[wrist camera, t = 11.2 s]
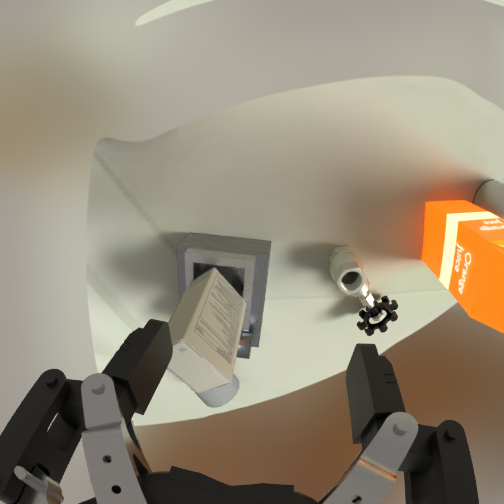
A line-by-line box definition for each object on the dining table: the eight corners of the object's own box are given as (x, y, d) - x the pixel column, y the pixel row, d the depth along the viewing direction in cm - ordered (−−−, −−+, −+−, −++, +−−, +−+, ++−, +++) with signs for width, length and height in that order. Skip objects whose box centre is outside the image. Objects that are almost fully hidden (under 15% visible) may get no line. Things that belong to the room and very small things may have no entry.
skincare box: (188, 282, 32) (146, 352, 21) (215, 265, 31) (179, 335, 20) (222, 320, 34) (197, 396, 23) (249, 305, 32) (232, 384, 21)
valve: (313, 259, 36) (355, 315, 39) (318, 284, 30) (364, 344, 33) (353, 231, 34) (391, 293, 37) (367, 252, 28) (405, 318, 31)
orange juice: (465, 199, 30) (561, 256, 11) (459, 255, 33) (535, 331, 15) (424, 201, 31) (522, 266, 13) (420, 260, 34) (492, 351, 16)
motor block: (271, 241, 36) (267, 271, 28) (261, 325, 42) (255, 365, 34) (189, 232, 37) (165, 259, 29) (192, 315, 42) (175, 351, 34)
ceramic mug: (216, 342, 44) (205, 376, 37) (243, 372, 46) (236, 405, 40) (173, 357, 48) (159, 387, 41) (199, 383, 50) (189, 413, 43)
